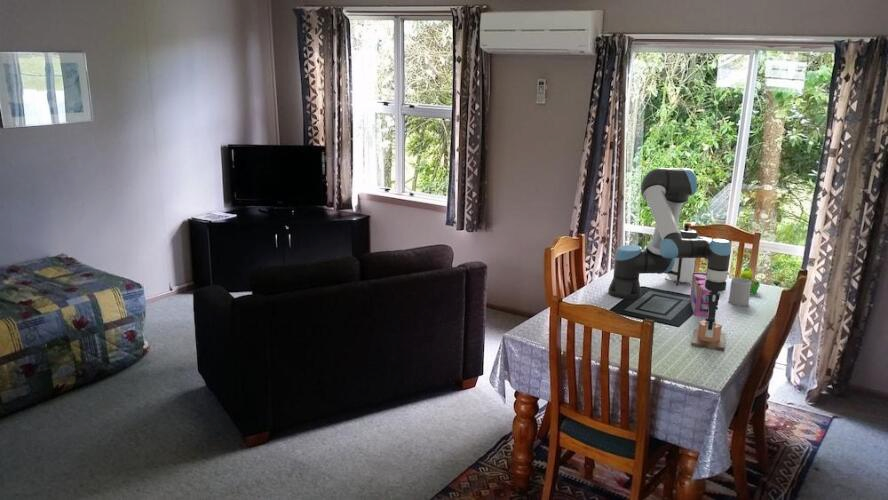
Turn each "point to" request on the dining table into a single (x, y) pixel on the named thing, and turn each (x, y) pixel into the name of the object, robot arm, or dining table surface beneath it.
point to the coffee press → (684, 260)
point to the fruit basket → (748, 275)
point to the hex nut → (715, 333)
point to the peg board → (706, 344)
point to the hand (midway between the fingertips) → (709, 330)
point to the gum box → (699, 295)
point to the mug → (740, 291)
